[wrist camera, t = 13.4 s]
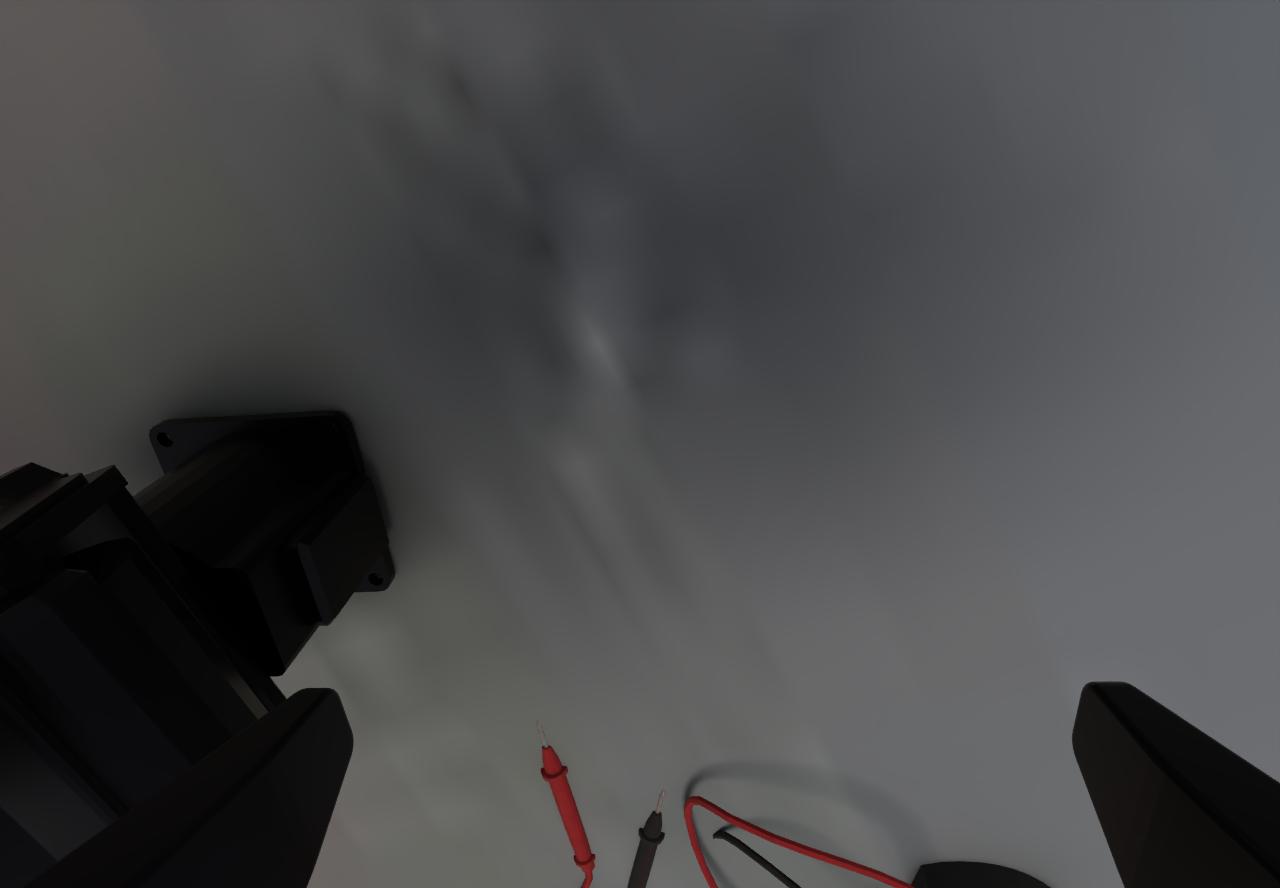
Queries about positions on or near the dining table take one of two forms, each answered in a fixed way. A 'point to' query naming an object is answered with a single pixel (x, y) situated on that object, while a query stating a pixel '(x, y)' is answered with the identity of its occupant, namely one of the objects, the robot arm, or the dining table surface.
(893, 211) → the dining table surface
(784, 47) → the dining table surface
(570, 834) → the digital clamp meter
